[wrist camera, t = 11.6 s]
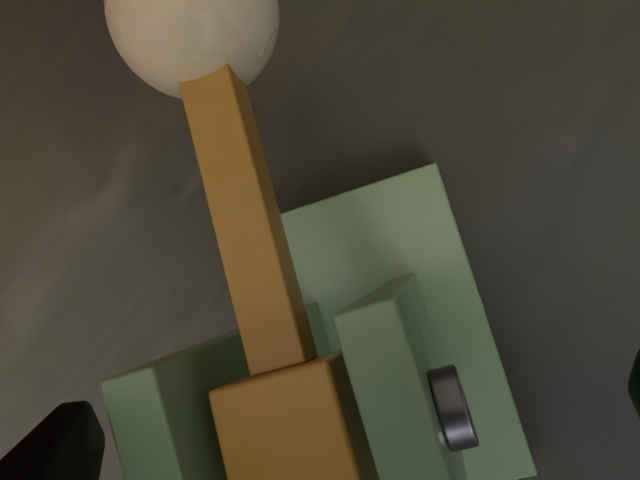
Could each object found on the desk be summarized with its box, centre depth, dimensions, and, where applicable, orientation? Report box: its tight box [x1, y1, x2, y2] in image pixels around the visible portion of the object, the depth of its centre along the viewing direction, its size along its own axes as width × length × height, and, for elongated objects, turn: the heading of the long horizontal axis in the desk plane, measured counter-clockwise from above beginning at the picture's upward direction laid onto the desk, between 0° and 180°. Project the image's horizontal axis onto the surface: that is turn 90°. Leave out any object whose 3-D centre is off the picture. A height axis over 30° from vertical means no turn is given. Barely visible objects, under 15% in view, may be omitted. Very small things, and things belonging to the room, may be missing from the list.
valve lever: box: [104, 0, 379, 480], centre depth 10 cm, size 12×4×4 cm, turn 17°
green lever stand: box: [101, 163, 537, 480], centre depth 15 cm, size 12×9×14 cm
